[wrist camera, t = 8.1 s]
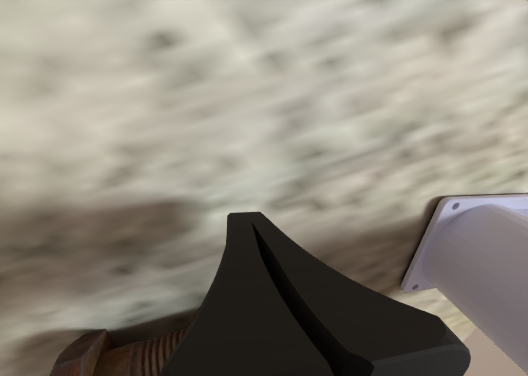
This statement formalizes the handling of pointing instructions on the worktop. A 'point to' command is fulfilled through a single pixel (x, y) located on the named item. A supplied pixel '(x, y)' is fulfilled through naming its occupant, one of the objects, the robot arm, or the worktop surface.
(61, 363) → the bolt
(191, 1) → the worktop surface
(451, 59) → the worktop surface
